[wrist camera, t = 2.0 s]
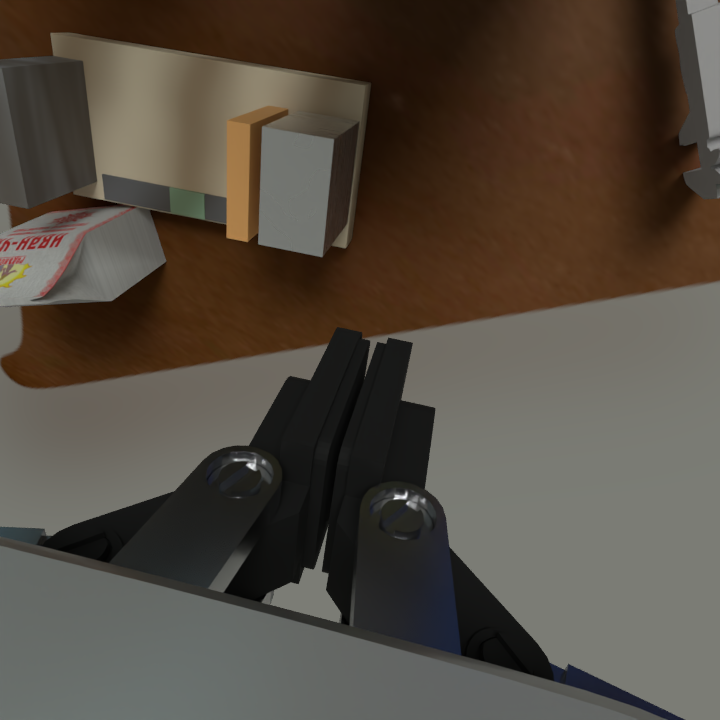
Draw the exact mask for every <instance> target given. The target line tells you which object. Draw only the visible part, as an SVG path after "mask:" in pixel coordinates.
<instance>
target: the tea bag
mask: <svg viewBox="0 0 720 720" xmlns="http://www.w3.org/2000/svg"><path fill="white" fill-rule="evenodd" d="M165 262H166V259H165V256H164V253H163V250H162V247H161V244H160V241H159V237H158V234H157V231H156V228H155V225H154V222H153V219H152V216H151V213H150V210H149V209H145V208H140V207H135V206H130V205H125V204H122V205H113V206H103V207H93V208H83V209H74V210H64V211H54V212H49V213H47V214H45V215H42V216H40V217H38V218H35V219H33V220H31V221H28V222H26V223H24V224H21V225H19V226H17V227H14V228H12V229H9V230H7V231H5V232H2V233H0V307H1V306H2V307H12V306H31V305H50V304H68V303H86V302H105V301H113V300H114V299H115V298H117V297H118V296H119V295H121V294H122V293H124V292H125V291H126V290H128V289H129V288H130V287H132V286H133V285H135V284H136V283H137V282H139V281H140V280H142V279H143V278H144V277H146V276H147V275H148V274H150V273H151V272H153V271H154V270H155V269H157V268H158V267H159V266H161V265H162V264H164V263H165Z"/></svg>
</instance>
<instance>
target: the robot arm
mask: <svg viewBox="0 0 720 720" xmlns="http://www.w3.org/2000/svg"><path fill="white" fill-rule="evenodd" d="M412 344H413V343H411V342H406V341H401V340H397V339H392V338H388V340H387V343H386V344H384V343H379V342H377V345H376V348H375V350H374V353H373V356H372V359H371V362H370V365H369V368H368V371H367V374H366V376H365V372H366V365H367V359H368V353H369V346H370V341H369V340H365V339H362V332H358V331H353V330H349V329H344V328H339V327H337V329H336V331H335V333H334V335H333V337H332V339H331V341H330V343H329V345H328V347H327V349H326V351H325V353H324V355H323V357H322V359H321V361H320V363H319V365H318V367H317V369H316V371H315V373H314V375H313V377H312V379H311V381H310V380H306V379H301V378H297V377H292V376H290V377H288V379H287V380H286V381H285V383H284V385H283V387H282V388H281V390H280V392H279V393H278V395H277V397H276V399H275V400H274V402H273V404H272V406H271V408H270V409H269V411H268V413H267V415H266V416H265V418H264V420H263V422H262V424H261V425H260V427H259V429H258V431H257V432H256V434H255V436H254V438H253V440H252V441H251V443H250V445H249V446H231V447H226V448H223V449H220V450H218V451H216V452H213V453H212V454H210V455H209V456H208V457H207V458H205V459H204V460H203V461H202V462H201V463H200V464H199V465H198V466H197V468H196V469H195V470H194V471H193V472H192V473H191V474H190V475H189V476H188V477H187V478H186V480H185V481H184V482H183V483H182V484H181V485H180V486H179V487H178V488H177V489H176V490H175V491H174V492H171V493H168V494H165V495H162V496H159V497H156V498H153V499H150V500H147V501H144V502H141V503H138V504H135V505H132V506H129V507H126V508H123V509H120V510H117V511H114V512H111V513H108V514H105V515H102V516H99V517H96V518H93V519H89V520H86V521H83V522H80V523H78V524H74V525H72V526H70V527H68V528H65V529H63V530H61V531H59V532H57V533H56V534H55V535H53V536H46V533H45V529H39V528H16V527H0V720H685V719H683V718H680V717H678V716H676V715H674V714H672V713H670V712H668V711H666V710H664V709H662V708H660V707H658V706H655V705H653V704H651V703H649V702H647V701H645V700H643V699H641V698H639V697H637V696H635V695H632V694H630V693H628V692H626V691H624V690H622V689H620V688H618V687H616V686H614V685H612V684H610V683H607V682H605V681H603V680H601V679H599V678H597V677H595V676H593V675H591V674H589V673H587V672H585V671H582V670H580V669H578V668H576V667H574V666H572V665H570V664H568V665H567V667H566V668H565V670H564V669H562V668H560V667H558V666H556V665H554V664H551V663H549V661H548V658H547V656H546V655H545V654H544V652H543V651H542V649H541V648H540V647H539V645H538V644H537V643H536V642H535V640H534V639H533V638H532V637H531V636H530V635H529V634H528V633H527V632H526V631H525V629H523V627H522V626H521V625H520V624H519V623H518V622H517V621H516V620H515V619H514V617H513V616H512V615H511V614H510V613H509V612H508V611H507V610H506V609H505V607H504V606H503V605H502V604H501V603H500V602H499V601H498V600H497V599H496V598H495V597H494V595H492V593H491V592H490V591H489V590H488V589H487V588H486V587H485V586H484V584H483V583H482V582H481V581H480V580H479V579H478V578H477V577H476V576H475V575H474V573H472V571H471V570H470V569H469V568H468V567H467V566H466V565H465V564H464V563H463V561H462V560H461V559H460V558H459V557H458V556H457V555H456V554H455V553H454V552H453V551H452V549H451V548H450V547H449V540H448V533H447V523H446V517H445V513H444V510H443V507H442V506H441V504H440V503H439V502H438V500H437V499H436V498H435V497H434V496H433V495H432V494H430V493H429V492H428V491H426V490H425V482H426V475H427V468H428V461H429V453H430V446H431V438H432V431H433V423H434V416H435V408H433V407H429V406H424V405H420V404H415V403H411V402H406V401H402V400H401V398H402V393H403V388H404V383H405V378H406V373H407V368H408V363H409V359H410V354H411V349H412ZM364 378H365V379H364ZM328 524H329V525H328ZM327 527H328V532H327V539H326V546H325V553H324V560H323V567H322V572H325V573H329V576H328V582H327V588H326V590H327V592H328V594H329V595H330V597H331V598H332V600H333V601H334V603H335V604H336V606H337V607H338V609H339V610H340V612H341V615H340V621H339V623H337V622H333V621H329V620H325V619H322V618H318V617H314V616H310V615H306V614H302V613H299V612H294V611H291V610H287V609H283V608H280V607H276V606H272V605H270V604H271V601H272V598H273V595H274V590H275V589H277V588H280V587H282V586H284V585H286V584H288V583H290V582H292V583H296V584H299V581H300V578H301V575H302V572H303V570H304V567H306V568H310V569H314V568H315V565H316V562H317V559H318V556H319V553H320V549H321V546H322V543H323V540H324V537H325V533H326V530H327Z"/></svg>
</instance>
